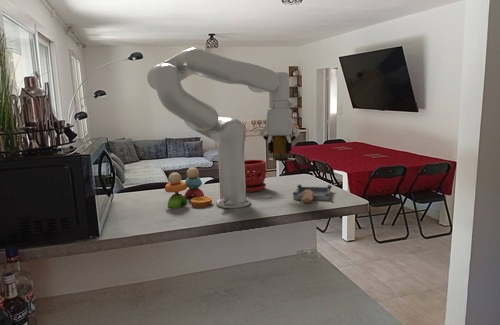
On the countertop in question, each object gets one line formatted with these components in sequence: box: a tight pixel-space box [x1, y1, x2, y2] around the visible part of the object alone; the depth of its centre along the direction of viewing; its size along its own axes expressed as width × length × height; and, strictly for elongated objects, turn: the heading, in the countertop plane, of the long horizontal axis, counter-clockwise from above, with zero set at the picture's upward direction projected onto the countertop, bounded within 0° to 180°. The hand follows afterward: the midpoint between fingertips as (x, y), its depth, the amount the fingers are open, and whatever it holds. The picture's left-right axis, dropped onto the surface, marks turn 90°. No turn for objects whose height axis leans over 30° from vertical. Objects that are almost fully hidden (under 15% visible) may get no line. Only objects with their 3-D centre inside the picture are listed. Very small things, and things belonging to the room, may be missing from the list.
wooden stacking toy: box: [164, 166, 213, 209], centre depth 146 cm, size 18×17×12 cm
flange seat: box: [292, 184, 332, 205], centre depth 146 cm, size 18×14×4 cm
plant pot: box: [244, 159, 267, 193], centre depth 161 cm, size 13×13×12 cm
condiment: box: [268, 135, 295, 162], centre depth 147 cm, size 7×8×12 cm
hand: (279, 152), depth 148 cm, fingers closed on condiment, 6 cm apart
